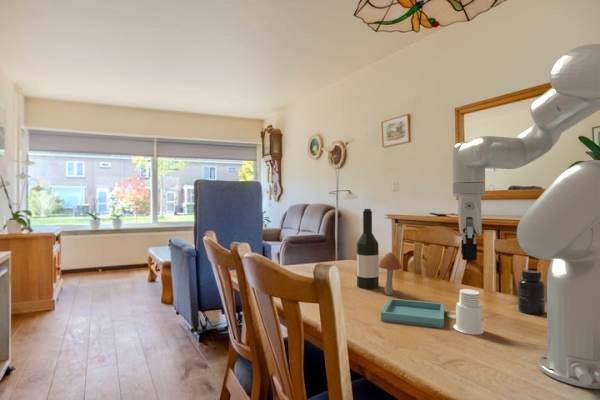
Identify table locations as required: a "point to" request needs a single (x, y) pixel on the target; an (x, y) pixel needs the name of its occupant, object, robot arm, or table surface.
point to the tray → (414, 313)
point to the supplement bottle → (531, 293)
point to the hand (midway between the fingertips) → (468, 257)
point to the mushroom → (389, 270)
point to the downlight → (469, 313)
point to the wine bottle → (367, 255)
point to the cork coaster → (451, 315)
